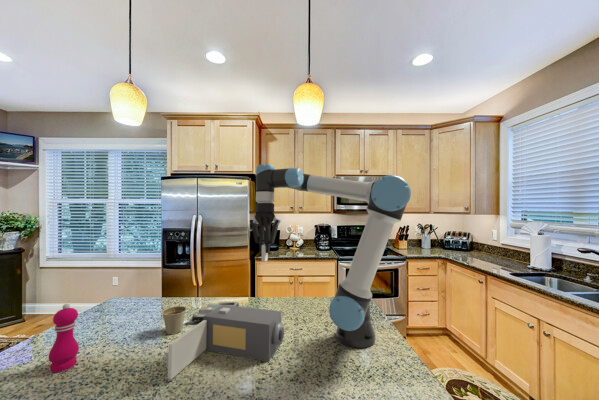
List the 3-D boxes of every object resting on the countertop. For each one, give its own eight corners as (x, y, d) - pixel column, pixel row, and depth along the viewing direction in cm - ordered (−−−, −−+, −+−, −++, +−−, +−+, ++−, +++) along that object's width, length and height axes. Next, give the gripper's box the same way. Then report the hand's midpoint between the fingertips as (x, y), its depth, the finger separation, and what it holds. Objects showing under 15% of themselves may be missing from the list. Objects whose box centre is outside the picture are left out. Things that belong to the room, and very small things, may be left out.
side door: (171, 379, 73) (172, 344, 74) (165, 378, 74) (166, 343, 74) (206, 348, 90) (206, 320, 90) (201, 348, 90) (201, 319, 91)
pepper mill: (75, 357, 86) (78, 298, 87) (80, 365, 82) (83, 303, 83) (46, 367, 81) (49, 304, 82) (49, 377, 76) (52, 309, 77)
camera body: (287, 344, 95) (287, 309, 96) (275, 362, 83) (276, 323, 84) (221, 334, 103) (222, 302, 103) (202, 349, 91) (203, 313, 92)
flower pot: (164, 339, 99) (164, 316, 99) (159, 330, 106) (159, 309, 107) (189, 331, 105) (189, 310, 105) (182, 324, 112) (183, 304, 113)
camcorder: (238, 321, 116) (239, 309, 116) (191, 325, 111) (191, 313, 111) (238, 308, 132) (238, 298, 132) (196, 312, 127) (197, 301, 127)
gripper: (283, 202, 104) (282, 260, 103) (254, 203, 108) (254, 258, 107) (276, 202, 97) (276, 263, 96) (246, 202, 101) (245, 261, 99)
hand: (264, 260), depth 101 cm, fingers closed
